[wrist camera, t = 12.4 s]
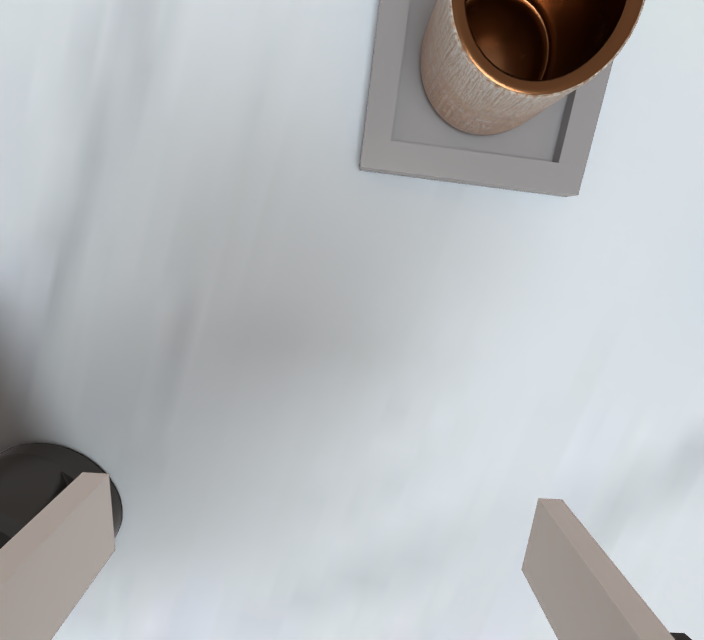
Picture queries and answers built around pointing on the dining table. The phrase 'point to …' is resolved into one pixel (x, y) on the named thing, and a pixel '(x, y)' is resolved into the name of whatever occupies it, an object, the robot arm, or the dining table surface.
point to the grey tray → (457, 146)
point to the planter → (517, 56)
